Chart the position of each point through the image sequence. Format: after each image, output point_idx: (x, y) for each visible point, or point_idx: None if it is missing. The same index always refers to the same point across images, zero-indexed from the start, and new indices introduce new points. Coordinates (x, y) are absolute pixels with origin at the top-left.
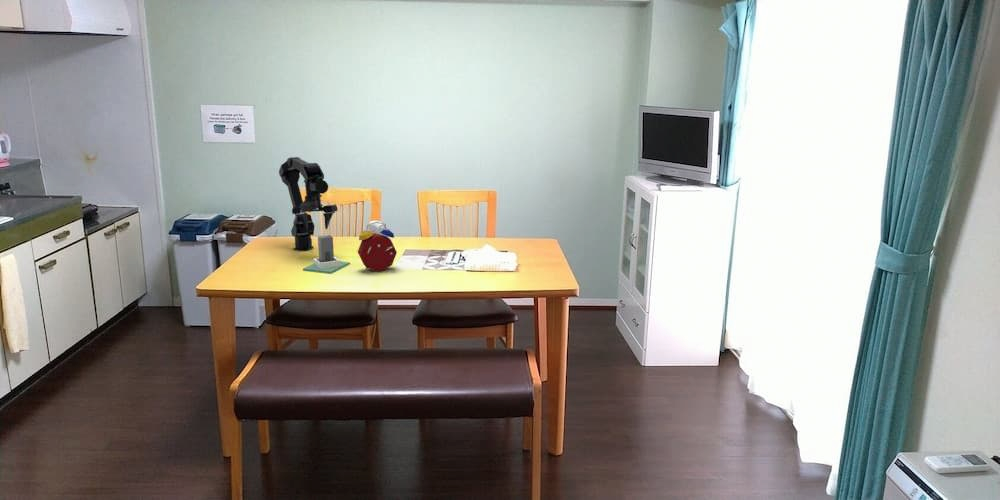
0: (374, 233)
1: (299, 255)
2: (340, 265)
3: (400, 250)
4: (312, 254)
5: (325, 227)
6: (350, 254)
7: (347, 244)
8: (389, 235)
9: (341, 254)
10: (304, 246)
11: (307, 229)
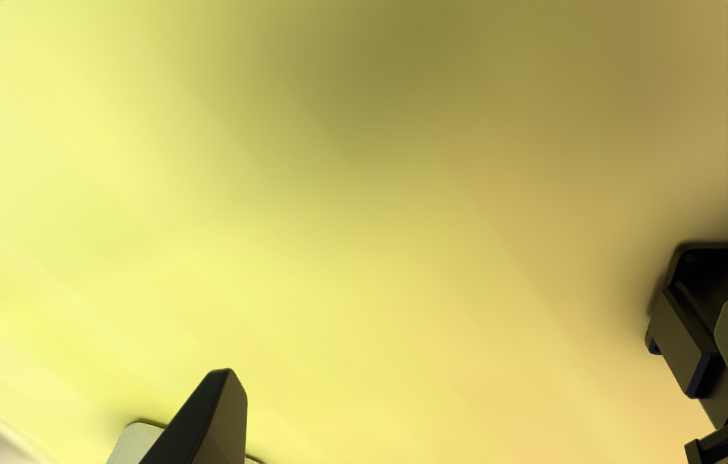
0: None
1: (681, 71)
2: None
3: (29, 435)
4: (544, 163)
5: (211, 393)
6: (215, 278)
7: (424, 459)
8: None
9: (281, 255)
10: (719, 287)
11: (717, 325)
